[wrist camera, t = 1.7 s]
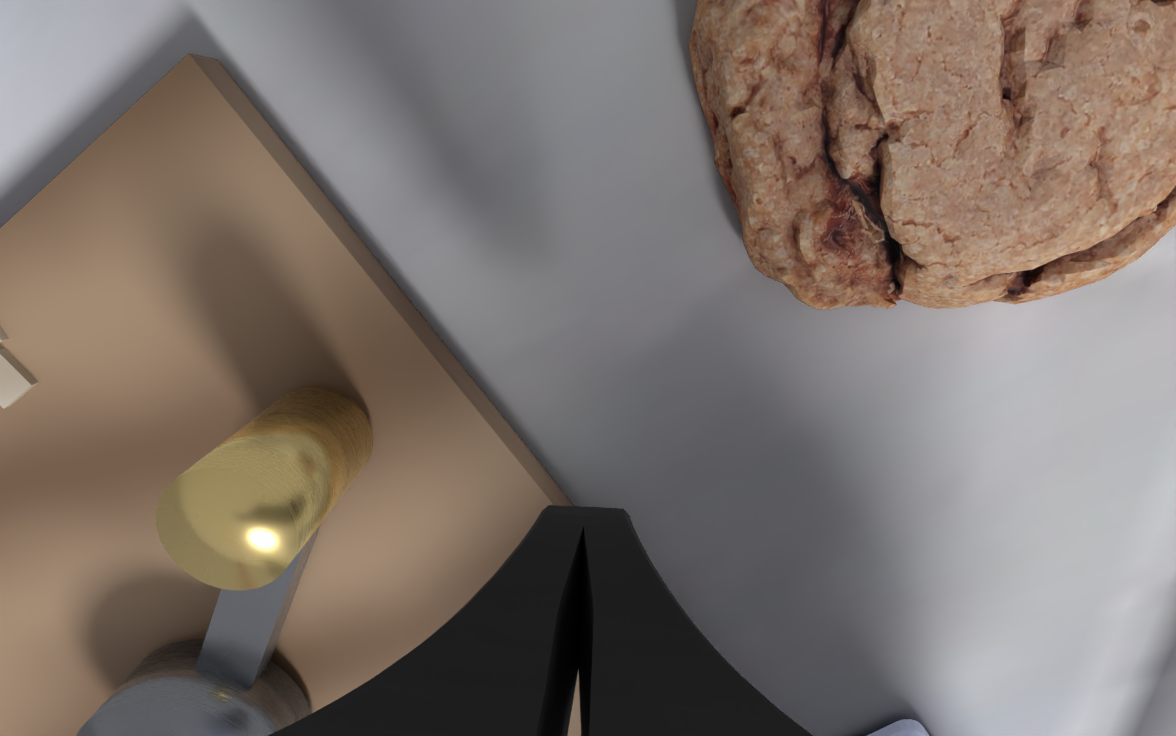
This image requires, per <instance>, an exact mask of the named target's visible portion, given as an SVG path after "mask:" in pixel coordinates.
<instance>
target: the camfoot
mask: <svg viewBox="0 0 1176 736" xmlns="http://www.w3.org/2000/svg"><path fill="white" fill-rule="evenodd" d="M372 449H373V434H372V429H371V426H370V424H369V421H368V419H367V417H366V416H365V414H364V413H363V411H362V410H361V409H360V407H359V406H358V405H357V404H356V403H355V402H353V401H352V400H351V399H350V398H348V397H347V396H345V395H344V394H342V393H340V392H338V391H335V390H333V389H330V388H325V387H319V386H308V387H301V388H298V389H295V390H293V391H290V392H289V393H287V394H286V395H284V396H283V397H281V398H280V399H279V400H277V401H276V402H275V403H274V404H272V405H271V406H270V407H268V408H267V409H266V410H264V411H263V412H262V413H261V414H259V415H258V416H257V417H255V418H254V419H253V420H251V421H250V422H249V423H248V424H246V425H245V426H244V427H242V428H241V429H240V430H238V431H237V432H236V433H234V434H233V435H232V436H231V437H229V438H228V439H227V440H225V441H224V442H223V443H221V444H220V445H219V446H218V447H216V448H215V449H214V450H212V451H211V452H210V453H208V454H207V455H206V456H205V457H203V458H202V459H201V460H199V461H198V462H197V463H195V464H194V465H193V466H191V467H190V468H189V469H188V470H186V471H185V472H184V473H182V474H181V475H180V476H178V477H177V478H176V479H175V480H173V481H172V482H171V483H170V484H169V485H168V486H167V487H166V489H165V490H164V491H163V493H162V495H161V497H160V499H159V502H158V504H157V509H156V526H157V531H158V535H159V537H160V540H161V542H162V544H163V546H164V548H165V550H166V551H167V553H168V554H169V556H170V557H171V558H172V559H173V561H174V562H175V563H176V564H177V565H178V566H179V567H180V568H182V569H183V570H184V571H185V572H186V573H188V574H189V575H191V576H192V577H194V578H196V579H197V580H199V581H201V582H203V583H206V584H208V585H211V586H214V587H217V588H221V592H220V595H219V598H218V601H217V604H216V607H215V610H214V613H213V616H212V619H211V622H210V625H209V628H208V631H207V634H206V637H205V639H193V640H184V641H179V642H175V643H171V644H168V645H166V646H163V647H161V648H159V649H157V650H155V651H154V652H152V653H151V654H149V655H148V656H147V657H146V658H144V659H143V660H142V661H141V662H140V664H139V665H138V666H137V667H136V668H135V669H134V670H133V671H132V672H131V673H130V675H129V676H128V677H127V678H126V679H125V680H124V681H123V682H122V683H121V684H120V686H119V687H118V688H117V689H116V690H115V691H114V692H113V693H112V694H111V695H110V697H109V698H108V699H107V700H106V701H105V702H104V703H103V704H102V705H101V706H100V707H99V709H98V710H97V711H96V712H95V713H94V714H93V715H92V716H91V717H90V718H89V720H88V721H87V722H86V723H85V724H84V725H83V726H82V727H81V728H80V730H79V732H78V733H77V735H76V736H268V735H270V734H272V733H274V732H276V731H278V730H280V729H282V728H285V727H287V726H289V725H291V724H293V723H295V722H297V721H299V720H301V719H302V718H304V717H306V716H308V715H310V714H312V713H311V710H310V707H309V705H308V702H307V700H306V698H305V696H304V694H303V693H302V691H301V690H300V688H299V687H298V686H297V684H296V683H295V682H294V681H293V680H292V678H291V677H290V676H289V675H288V674H287V673H286V672H284V671H283V670H282V669H281V668H280V667H279V666H277V665H276V664H275V663H273V662H272V661H270V660H271V657H272V654H273V652H274V649H275V646H276V644H277V641H278V638H279V636H280V633H281V630H282V628H283V625H284V622H285V620H286V617H287V614H288V612H289V609H290V606H291V604H292V601H293V598H294V596H295V593H296V590H297V588H298V585H299V582H300V580H301V577H302V574H303V572H304V569H305V566H306V564H307V561H308V558H309V556H310V553H311V550H312V548H313V545H314V542H315V540H316V537H317V534H318V532H319V529H320V526H321V524H322V522H323V520H324V519H325V518H326V516H327V515H328V514H329V513H330V511H331V510H332V509H333V507H334V506H335V505H336V503H337V502H338V501H339V500H340V498H341V497H342V496H343V494H344V493H345V492H346V490H347V489H348V488H349V487H350V485H351V484H352V483H353V481H354V480H355V479H356V477H357V476H358V475H359V474H360V472H361V471H362V470H363V468H364V467H365V466H366V464H367V463H368V461H369V459H370V457H371V453H372Z"/></svg>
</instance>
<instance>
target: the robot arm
mask: <svg viewBox="0 0 1176 736" xmlns="http://www.w3.org/2000/svg"><path fill="white" fill-rule="evenodd" d="M578 670H579V696H580V720H581V736H813V735H811V734H810V733H809V732H807V731H806V730H805V729H803V728H802V727H801V726H799V725H798V724H797V723H795V722H794V721H793V720H792V719H790V718H789V717H788V716H787V715H785V714H784V713H783V712H782V711H781V710H779V709H778V708H777V707H776V706H774V705H773V704H772V703H771V702H770V701H769V700H768V699H767V698H765V697H764V696H763V695H762V694H761V693H760V692H759V691H758V690H756V689H755V688H754V687H753V686H752V685H751V684H750V683H749V682H747V681H746V680H745V679H744V678H743V677H742V676H741V675H740V674H739V673H738V672H737V671H736V670H735V669H734V668H733V667H732V666H731V665H730V664H729V663H728V662H727V661H726V660H725V659H724V658H723V657H722V656H721V655H720V654H719V652H718V651H717V650H716V649H715V648H714V647H713V646H712V645H711V644H710V642H709V641H708V640H707V639H706V638H705V637H704V635H703V634H702V633H701V632H700V631H699V629H698V628H697V627H696V626H695V624H694V623H693V622H692V621H691V619H690V618H689V617H688V615H687V614H686V613H685V611H684V610H683V609H682V607H681V606H680V605H679V603H678V602H677V601H676V599H675V598H674V596H673V595H672V593H671V592H670V590H669V589H668V588H667V586H666V584H665V583H664V581H663V580H662V578H661V577H660V575H659V573H658V572H657V570H656V569H655V567H654V565H653V564H652V562H651V560H650V559H649V557H648V555H647V553H646V551H645V550H644V548H643V546H642V544H641V542H640V540H639V538H638V536H637V534H636V532H635V529H634V527H633V525H632V522H631V519H630V516H629V515H628V514H627V512H626V511H625V510H624V509H618V508H598V507H577V506H556V505H548V506H547V507H546V508H545V509H543V510H542V511H541V513H540V515H539V516H538V518H537V520H536V521H535V523H534V524H533V526H532V527H531V529H530V530H529V531H528V533H527V534H526V536H525V537H524V538H523V540H522V541H521V542H520V544H519V545H518V546H517V548H516V549H515V550H514V551H513V552H512V554H511V555H510V556H509V557H508V558H507V560H506V561H505V562H504V563H503V565H502V566H501V567H500V568H499V569H498V571H497V572H496V573H495V574H494V575H493V576H492V577H491V578H490V579H489V580H488V581H487V583H486V584H485V585H484V586H483V587H482V588H481V589H480V590H479V591H478V592H477V593H476V594H475V595H474V596H473V597H472V598H471V599H470V600H469V601H468V602H467V603H466V604H465V605H464V606H463V607H462V608H461V609H460V610H459V611H458V612H457V613H456V614H455V615H454V616H453V617H452V618H450V619H449V620H448V621H447V622H446V623H445V624H444V625H443V626H441V627H440V628H439V629H438V630H437V631H435V632H434V633H433V634H432V635H431V636H430V637H428V638H427V639H426V640H425V641H424V642H422V643H421V644H420V645H418V646H417V647H416V648H414V649H413V650H412V651H410V652H409V653H408V654H406V655H405V656H403V657H402V658H401V659H399V660H398V661H396V662H395V663H393V664H392V665H391V666H389V667H388V668H386V669H385V670H383V671H382V672H381V673H379V674H378V675H376V676H375V677H373V678H372V679H370V680H369V681H367V682H365V683H364V684H362V685H360V686H359V687H357V688H356V689H354V690H352V691H351V692H349V693H347V694H346V695H344V696H342V697H341V698H339V699H337V700H335V701H333V702H332V703H330V704H328V705H326V706H324V707H323V708H321V709H319V710H317V711H316V712H314V713H312V714H310V715H308V716H306V717H304V718H302V719H301V720H299V721H297V722H295V723H293V724H291V725H289V726H287V727H285V728H282V729H280V730H278V731H276V732H274V733H272V734H270V735H268V736H567V735H568V729H569V723H570V717H571V711H572V705H573V699H574V693H575V687H576V681H577V675H578ZM867 736H929V734H928V733H927V731H926V730H925V729H924V727H923V726H922V725H921V724H920V723H919V722H918V721H915V720H912V719H903V720H899V721H896V722H894V723H892V724H890V725H888V726H886V727H884V728H882V729H880V730H878V731H875V732H873V733H871V734H869V735H867Z"/></svg>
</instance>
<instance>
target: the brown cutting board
mask: <svg viewBox="0 0 1176 736" xmlns="http://www.w3.org/2000/svg"><path fill="white" fill-rule="evenodd" d="M308 386H319V387H325V388H330V389H333V390H335V391H338V392H340V393H342V394H344V395H345V396H347V397H348V398H350V399H351V400H352V401H353V402H355V403H356V404H357V405H358V406H359V407H360V409H361V410H362V411H363V413H364V414H365V416H366V417H367V419H368V421H369V424H370V426H371V429H372V434H373V449H372V453H371V457H370V459H369V461H368V463H367V464H366V466H365V467H364V468H363V470H362V471H361V472H360V474H359V475H358V476H357V477H356V479H355V480H354V481H353V483H352V484H351V485H350V487H349V488H348V489H347V490H346V492H345V493H344V494H343V496H342V497H341V498H340V500H339V501H338V502H337V503H336V505H335V506H334V507H333V509H332V510H331V511H330V513H329V514H328V515H327V516H326V518H325V519H324V520H323V522H322V524H321V526H320V529H319V532H318V534H317V537H316V540H315V542H314V545H313V548H312V550H311V553H310V556H309V558H308V561H307V564H306V566H305V569H304V572H303V574H302V577H301V580H300V582H299V585H298V588H297V590H296V593H295V596H294V598H293V601H292V604H291V606H290V609H289V612H288V614H287V617H286V620H285V622H284V625H283V628H282V630H281V633H280V636H279V638H278V641H277V644H276V646H275V649H274V652H273V654H272V657H271V660H270V661H272V662H273V663H275V664H276V665H277V666H279V667H280V668H281V669H282V670H283V671H284V672H286V673H287V674H288V675H289V676H290V677H291V678H292V680H293V681H294V682H295V683H296V684H297V686H298V687H299V688H300V690H301V691H302V693H303V694H304V696H305V698H306V700H307V702H308V705H309V707H310V710H311V713H314V712H316V711H317V710H319V709H321V708H323V707H324V706H326V705H328V704H330V703H332V702H333V701H335V700H337V699H339V698H341V697H342V696H344V695H346V694H347V693H349V692H351V691H352V690H354V689H356V688H357V687H359V686H360V685H362V684H364V683H365V682H367V681H369V680H370V679H372V678H373V677H375V676H376V675H378V674H379V673H381V672H382V671H383V670H385V669H386V668H388V667H389V666H391V665H392V664H393V663H395V662H396V661H398V660H399V659H401V658H402V657H403V656H405V655H406V654H408V653H409V652H410V651H412V650H413V649H414V648H416V647H417V646H418V645H420V644H421V643H422V642H424V641H425V640H426V639H427V638H428V637H430V636H431V635H432V634H433V633H434V632H435V631H437V630H438V629H439V628H440V627H441V626H443V625H444V624H445V623H446V622H447V621H448V620H449V619H450V618H452V617H453V616H454V615H455V614H456V613H457V612H458V611H459V610H460V609H461V608H462V607H463V606H464V605H465V604H466V603H467V602H468V601H469V600H470V599H471V598H472V597H473V596H474V595H475V594H476V593H477V592H478V591H479V590H480V589H481V588H482V587H483V586H484V585H485V584H486V583H487V581H488V580H489V579H490V578H491V577H492V576H493V575H494V574H495V573H496V572H497V571H498V569H499V568H500V567H501V566H502V565H503V563H504V562H505V561H506V560H507V558H508V557H509V556H510V555H511V554H512V552H513V551H514V550H515V549H516V548H517V546H518V545H519V544H520V542H521V541H522V540H523V538H524V537H525V536H526V534H527V533H528V531H529V530H530V529H531V527H532V526H533V524H534V523H535V521H536V520H537V518H538V516H539V515H540V513H541V511H542V510H543V509H545V508H546V507H547V506H548V505H556V506H574V505H573V504H572V503H571V502H570V500H569V499H568V498H567V497H566V495H565V494H564V493H563V492H562V490H561V489H560V488H559V487H558V485H557V484H556V483H555V482H554V480H553V479H552V478H551V477H550V475H549V474H548V473H547V472H546V470H545V469H544V468H543V467H542V465H541V464H540V463H539V462H538V460H537V459H536V458H535V457H534V455H533V454H532V453H531V452H530V450H529V449H528V448H527V447H526V445H525V444H524V443H523V442H522V440H521V439H520V438H519V437H518V435H517V434H516V433H515V432H514V430H513V429H512V428H511V427H510V425H509V424H508V423H507V422H506V420H505V419H504V418H503V417H502V415H501V414H500V413H499V412H498V410H497V409H496V408H495V407H494V405H493V404H492V403H491V402H490V400H489V399H488V398H487V396H486V395H485V394H484V393H483V391H482V390H481V389H480V388H479V386H478V385H477V384H476V383H475V381H474V380H473V379H472V378H471V376H470V375H469V374H468V373H467V371H466V370H465V369H464V368H463V366H462V365H461V364H460V363H459V361H458V360H457V359H456V358H455V356H454V355H453V354H452V353H451V351H450V350H449V349H448V348H447V346H446V345H445V344H444V343H443V341H442V340H441V339H440V338H439V336H438V335H437V334H436V333H435V331H434V330H433V329H432V328H431V326H430V325H429V324H428V323H427V321H426V320H425V319H424V318H423V316H422V315H421V314H420V313H419V311H418V310H417V309H416V308H415V306H414V305H413V304H412V303H411V301H410V300H409V299H408V298H407V296H406V295H405V294H404V293H403V291H402V290H401V289H400V288H399V286H398V285H397V284H396V283H395V281H394V280H393V279H392V278H391V276H390V275H389V274H388V273H387V271H386V270H385V269H384V268H383V266H382V265H381V264H380V263H379V261H378V260H377V259H376V258H375V256H374V255H373V254H372V253H371V251H370V250H369V249H368V248H367V246H366V245H365V244H364V243H363V241H362V240H361V239H360V238H359V236H358V235H357V234H356V233H355V231H354V230H353V229H352V228H351V226H350V225H349V224H348V223H347V221H346V220H345V219H344V218H343V216H342V215H341V214H340V213H339V211H338V210H337V209H336V208H335V206H334V205H333V204H332V203H331V201H330V200H329V199H328V198H327V196H326V195H325V194H324V193H323V191H322V190H321V189H320V188H319V186H318V185H317V184H316V183H315V181H314V180H313V179H312V178H311V176H310V175H309V174H308V173H307V171H306V170H305V169H304V168H303V166H302V165H301V164H300V163H299V161H298V160H297V159H296V158H295V156H294V155H293V154H292V153H291V151H290V150H289V149H288V148H287V146H286V145H285V144H284V143H283V141H282V140H281V139H280V138H279V136H278V135H277V134H276V133H275V131H274V130H273V129H272V128H271V126H270V125H269V124H268V123H267V121H266V120H265V119H264V118H263V116H262V115H261V114H260V113H259V111H258V110H257V109H256V108H255V106H254V105H253V104H252V103H251V101H250V100H249V99H248V98H247V96H246V95H245V94H244V93H243V91H242V90H241V89H240V88H239V86H238V85H237V84H236V83H235V81H234V80H233V79H232V78H231V76H230V75H229V74H228V73H227V71H226V70H225V69H224V68H223V66H222V65H221V64H220V63H219V61H218V60H217V59H213V58H208V57H203V56H198V55H193V54H188V55H187V56H186V57H184V58H183V59H182V60H181V61H180V62H179V63H178V64H177V65H176V66H175V67H174V68H173V69H172V70H170V71H169V72H168V73H167V74H166V75H165V76H164V77H163V78H162V79H161V80H160V81H159V82H157V83H156V84H155V85H154V86H153V87H152V88H151V89H150V90H149V91H148V92H147V93H146V94H145V95H143V96H142V97H141V98H140V99H139V100H138V101H137V102H136V103H135V104H134V105H133V106H132V107H131V108H129V109H128V110H127V111H126V112H125V113H124V114H123V115H122V116H121V117H120V118H119V119H118V120H116V121H115V122H114V123H113V124H112V125H111V126H110V127H109V128H108V129H107V130H106V131H105V132H104V133H102V134H101V135H100V136H99V137H98V138H97V139H96V140H95V141H94V142H93V143H92V144H91V145H90V146H88V147H87V148H86V149H85V150H84V151H83V152H82V153H81V154H80V155H79V156H78V157H77V158H76V159H74V160H73V161H72V162H71V163H70V164H69V165H68V166H67V167H66V168H65V169H64V170H63V171H61V172H60V173H59V174H58V175H57V176H56V177H55V178H54V179H53V180H52V181H51V182H50V183H49V184H47V185H46V186H45V187H44V188H43V189H42V190H41V191H40V192H39V193H38V194H37V195H36V196H35V197H33V198H32V199H31V200H30V201H29V202H28V203H27V204H26V205H25V206H24V207H23V208H22V209H20V210H19V211H18V212H17V213H16V214H15V215H14V216H13V217H12V218H11V219H10V220H9V221H8V222H6V223H5V224H4V225H3V226H2V227H1V228H0V736H76V735H77V733H78V732H79V730H80V728H81V727H82V726H83V725H84V724H85V723H86V722H87V721H88V720H89V718H90V717H91V716H92V715H93V714H94V713H95V712H96V711H97V710H98V709H99V707H100V706H101V705H102V704H103V703H104V702H105V701H106V700H107V699H108V698H109V697H110V695H111V694H112V693H113V692H114V691H115V690H116V689H117V688H118V687H119V686H120V684H121V683H122V682H123V681H124V680H125V679H126V678H127V677H128V676H129V675H130V673H131V672H132V671H133V670H134V669H135V668H136V667H137V666H138V665H139V664H140V662H141V661H142V660H143V659H144V658H146V657H147V656H148V655H149V654H151V653H152V652H154V651H155V650H157V649H159V648H161V647H163V646H166V645H168V644H171V643H175V642H179V641H184V640H193V639H205V637H206V634H207V631H208V628H209V625H210V622H211V619H212V616H213V613H214V610H215V607H216V604H217V601H218V598H219V595H220V592H221V588H217V587H214V586H211V585H208V584H206V583H203V582H201V581H199V580H197V579H196V578H194V577H192V576H191V575H189V574H188V573H186V572H185V571H184V570H183V569H182V568H180V567H179V566H178V565H177V564H176V563H175V562H174V561H173V559H172V558H171V557H170V556H169V554H168V553H167V551H166V550H165V548H164V546H163V544H162V542H161V540H160V537H159V535H158V531H157V526H156V509H157V504H158V502H159V499H160V497H161V495H162V493H163V491H164V490H165V489H166V487H167V486H168V485H169V484H170V483H171V482H172V481H173V480H175V479H176V478H177V477H178V476H180V475H181V474H182V473H184V472H185V471H186V470H188V469H189V468H190V467H191V466H193V465H194V464H195V463H197V462H198V461H199V460H201V459H202V458H203V457H205V456H206V455H207V454H208V453H210V452H211V451H212V450H214V449H215V448H216V447H218V446H219V445H220V444H221V443H223V442H224V441H225V440H227V439H228V438H229V437H231V436H232V435H233V434H234V433H236V432H237V431H238V430H240V429H241V428H242V427H244V426H245V425H246V424H248V423H249V422H250V421H251V420H253V419H254V418H255V417H257V416H258V415H259V414H261V413H262V412H263V411H264V410H266V409H267V408H268V407H270V406H271V405H272V404H274V403H275V402H276V401H277V400H279V399H280V398H281V397H283V396H284V395H286V394H287V393H289V392H290V391H293V390H295V389H298V388H301V387H308ZM567 736H581V720H580V696H579V670H578V675H577V681H576V687H575V693H574V699H573V705H572V711H571V717H570V723H569V729H568V735H567Z"/></svg>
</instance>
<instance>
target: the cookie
mask: <svg viewBox="0 0 1176 736" xmlns="http://www.w3.org/2000/svg"><path fill="white" fill-rule="evenodd" d="M689 52H690V58H691V64H692V69H693V74H694V79H695V84H696V89H697V92H698V96H699V100H700V103H701V107H702V110H703V112H704V115H705V117H706V120H707V122H708V125H709V127H710V131H711V135H712V139H713V142H714V146H715V164H716V166H717V168H718V171H719V173H720V175H721V178H722V180H723V182H724V184H725V186H726V188H727V190H728V192H729V195H730V197H731V200H732V202H733V203H734V205H735V207H736V210H737V214H738V217H739V220H740V223H741V225H742V231H743V241H744V245H745V248H746V251H747V253H748V255H749V257H750V259H751V261H752V263H753V265H754V266H755V268H756V269H757V270H759V271H760V272H761V273H763V274H764V275H765V276H767V277H769V278H771V279H774V280H776V281H778V282H781V283H783V284H784V285H785V286H786V287H787V288H788V289H789V290H790V291H791V292H792V294H793V295H794V296H795V297H796V298H797V299H798V300H799V301H801V302H803V303H805V304H807V305H809V306H811V307H813V308H815V309H817V310H822V309H836V308H839V307H841V306H862V305H871V306H873V307H884V308H886V309H889V308H891V307H893V306H895V305H897V304H896V303H895V302H896V301H898V300H900V299H902V300H906V301H909V302H912V303H915V304H918V305H921V306H924V307H928V308H936V309H941V308H959V307H966V306H971V305H975V304H979V303H983V302H988V301H998V302H1005V303H1011V304H1018V303H1023V302H1028V301H1033V300H1038V299H1042V298H1045V297H1049V296H1053V295H1057V294H1060V293H1064V292H1066V291H1069V290H1072V289H1075V288H1078V287H1081V286H1084V285H1088V284H1091V283H1094V282H1097V281H1099V280H1102V279H1104V278H1107V277H1108V276H1110V275H1111V274H1112V273H1114V272H1116V271H1118V270H1120V269H1122V268H1123V267H1125V266H1127V265H1128V264H1130V263H1132V262H1134V261H1135V260H1137V259H1138V258H1139V257H1141V256H1142V255H1143V254H1144V253H1145V252H1146V251H1148V250H1149V249H1150V248H1151V247H1152V246H1153V245H1155V244H1156V243H1157V242H1158V241H1159V240H1160V239H1161V238H1162V237H1163V236H1164V235H1165V234H1166V233H1167V232H1168V231H1169V230H1170V229H1172V228H1173V227H1174V226H1175V225H1176V0H697V5H696V11H695V16H694V21H693V26H692V31H691V37H690V43H689Z"/></svg>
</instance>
